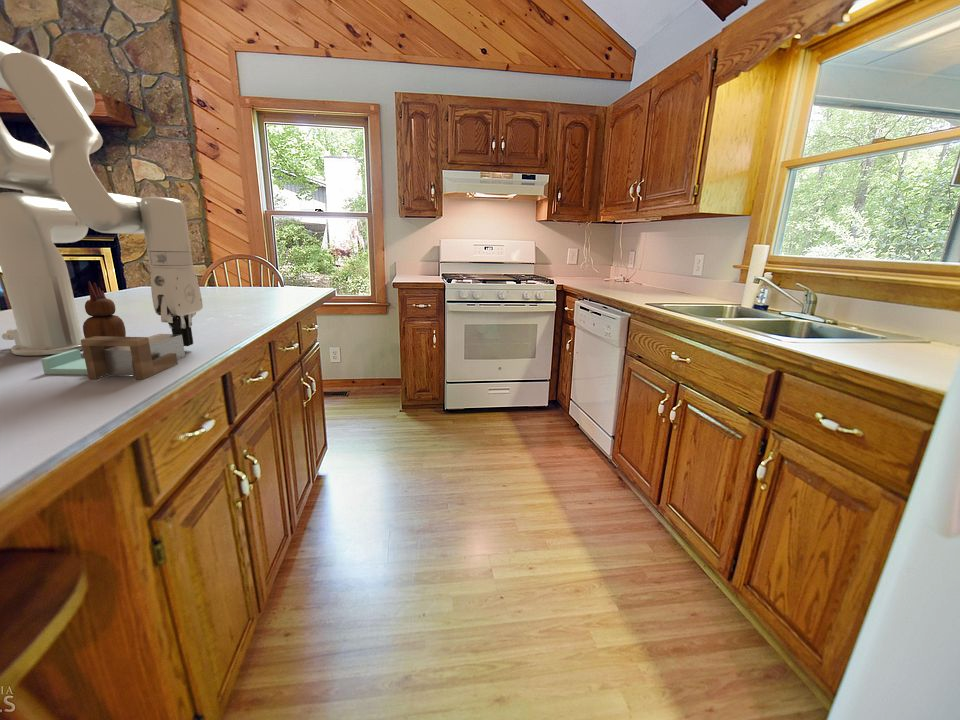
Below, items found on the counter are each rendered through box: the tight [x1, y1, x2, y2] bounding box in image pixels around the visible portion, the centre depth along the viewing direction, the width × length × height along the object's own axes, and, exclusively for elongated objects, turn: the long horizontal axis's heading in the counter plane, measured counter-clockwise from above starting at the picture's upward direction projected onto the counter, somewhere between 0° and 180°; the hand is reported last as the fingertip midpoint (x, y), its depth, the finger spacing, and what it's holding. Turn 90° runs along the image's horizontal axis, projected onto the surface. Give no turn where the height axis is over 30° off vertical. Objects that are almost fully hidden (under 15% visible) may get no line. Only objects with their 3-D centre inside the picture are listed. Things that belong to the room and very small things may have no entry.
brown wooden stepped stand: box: [81, 336, 179, 380], centre depth 79 cm, size 9×10×7 cm
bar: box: [104, 333, 186, 376], centre depth 83 cm, size 5×14×5 cm, turn 1°
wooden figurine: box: [82, 280, 127, 349], centre depth 91 cm, size 7×6×15 cm
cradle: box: [40, 349, 88, 375], centre depth 80 cm, size 9×7×3 cm
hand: (183, 345), depth 94 cm, fingers closed
